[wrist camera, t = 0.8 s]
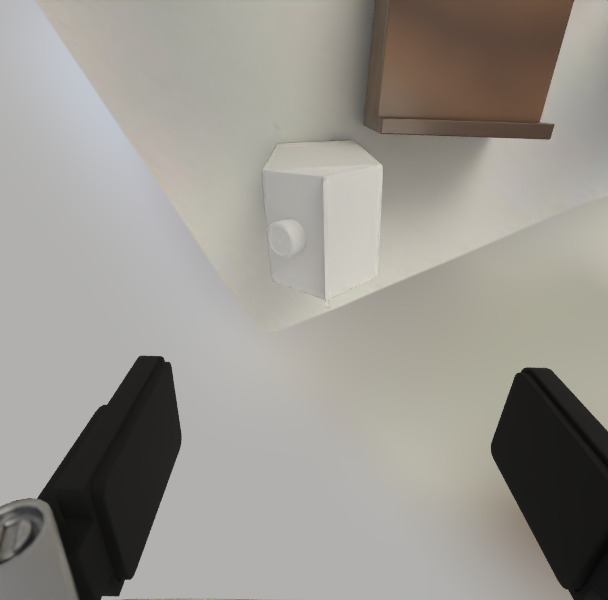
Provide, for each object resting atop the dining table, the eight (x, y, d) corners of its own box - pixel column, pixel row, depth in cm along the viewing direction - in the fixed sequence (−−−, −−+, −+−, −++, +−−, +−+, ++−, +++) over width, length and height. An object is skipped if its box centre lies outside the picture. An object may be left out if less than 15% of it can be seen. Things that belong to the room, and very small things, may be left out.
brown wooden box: (382, -82, 29) (412, -151, 21) (543, -75, 29) (634, -141, 21) (363, 125, 35) (380, 133, 27) (495, 130, 35) (550, 139, 27)
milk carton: (354, 139, 36) (398, 177, 19) (353, 215, 39) (389, 305, 22) (277, 143, 36) (252, 183, 19) (282, 218, 39) (265, 310, 22)
